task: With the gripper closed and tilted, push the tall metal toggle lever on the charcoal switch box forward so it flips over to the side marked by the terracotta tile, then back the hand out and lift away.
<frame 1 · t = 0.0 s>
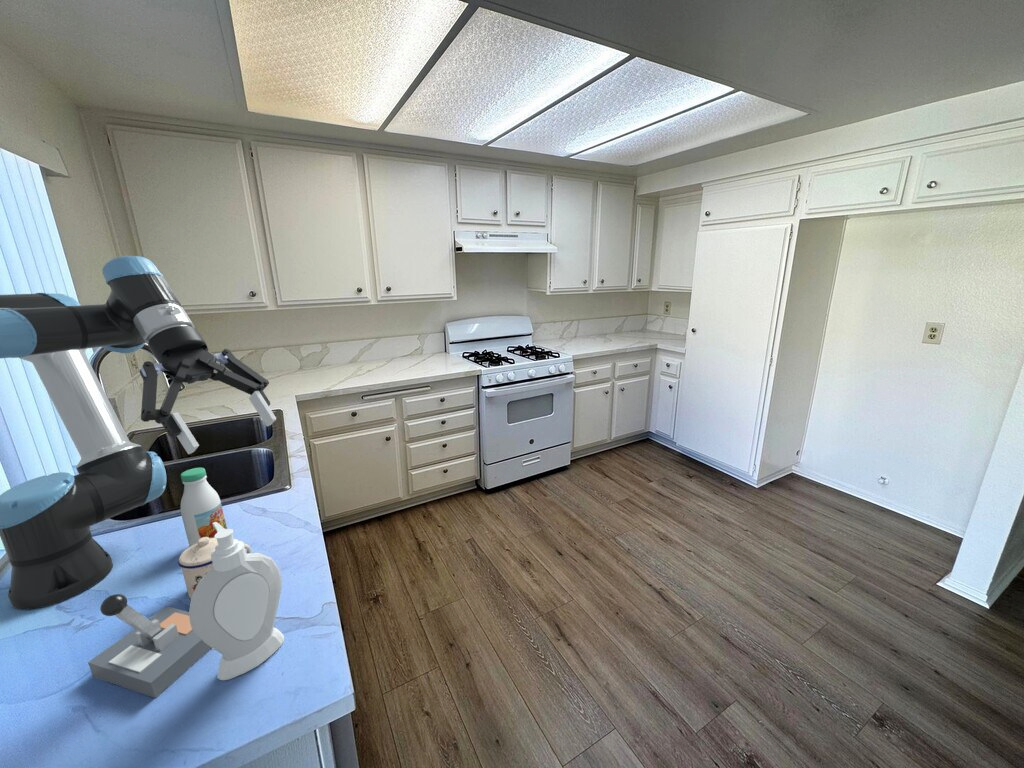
hand: (236, 435, 72), 36 cm above the countertop, tool tilted 35°, fingers open, 13 cm apart
switch base: (163, 654, 70), on the countertop
teacup with lid: (223, 584, 87), on the countertop
lever: (135, 620, 66), point 9 cm above the countertop, hinge at -22.0°
milk bottle: (211, 546, 100), on the countertop
soap bottle: (250, 654, 70), on the countertop
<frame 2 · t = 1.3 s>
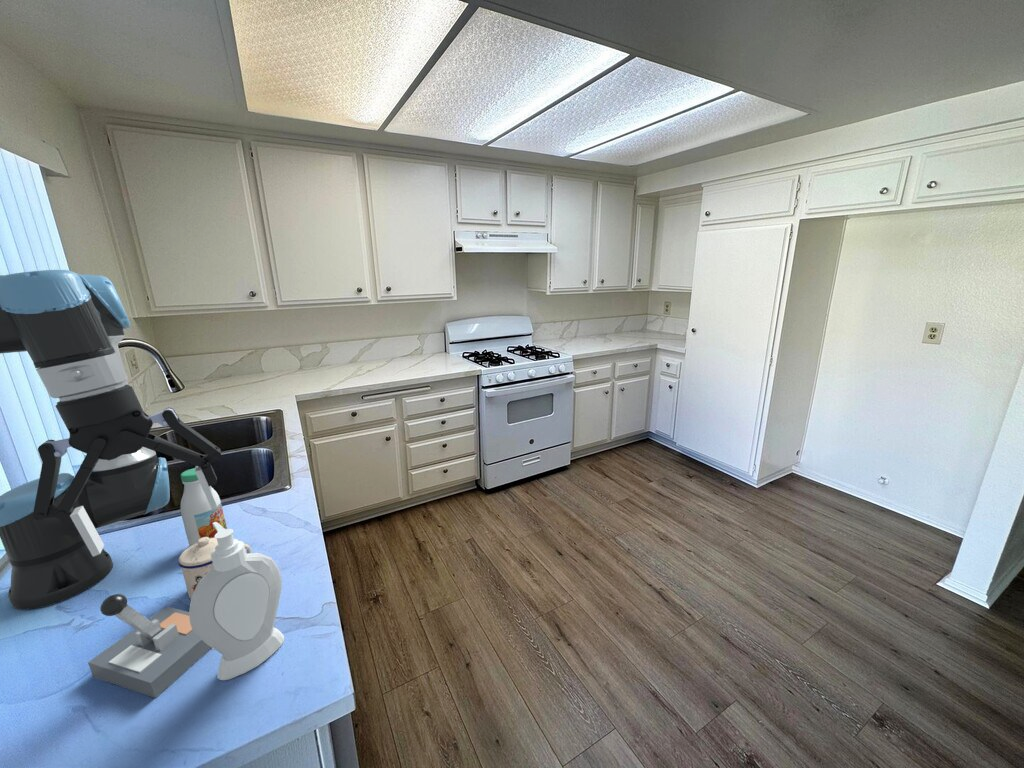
hand: (160, 526, 60), 27 cm above the countertop, tool pointing down, fingers open, 13 cm apart
nothing on the countertop moved.
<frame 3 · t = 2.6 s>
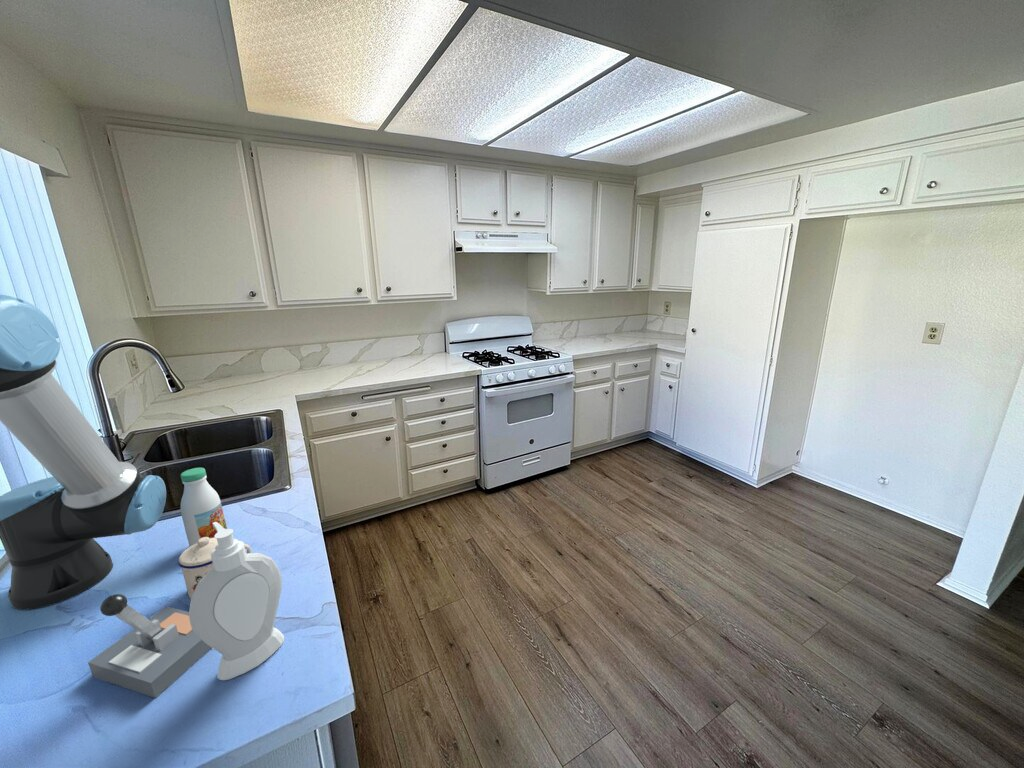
nothing on the countertop moved.
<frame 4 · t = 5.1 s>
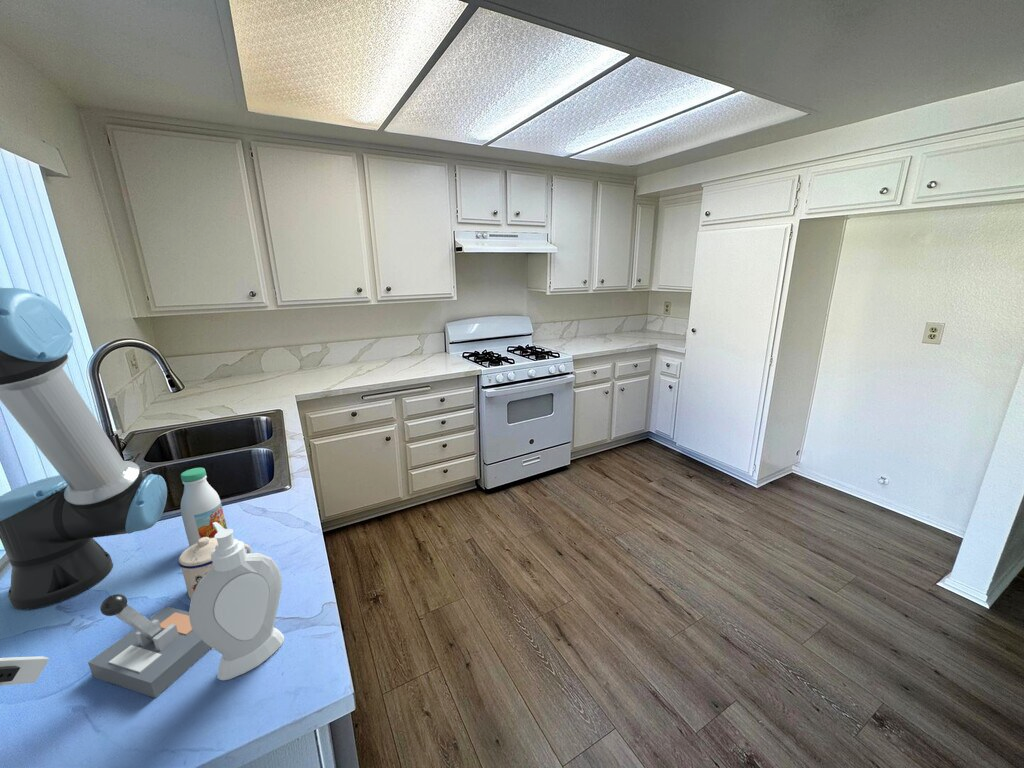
hand: (38, 669, 55), 12 cm above the countertop, tool tilted 45°, fingers closed
nothing on the countertop moved.
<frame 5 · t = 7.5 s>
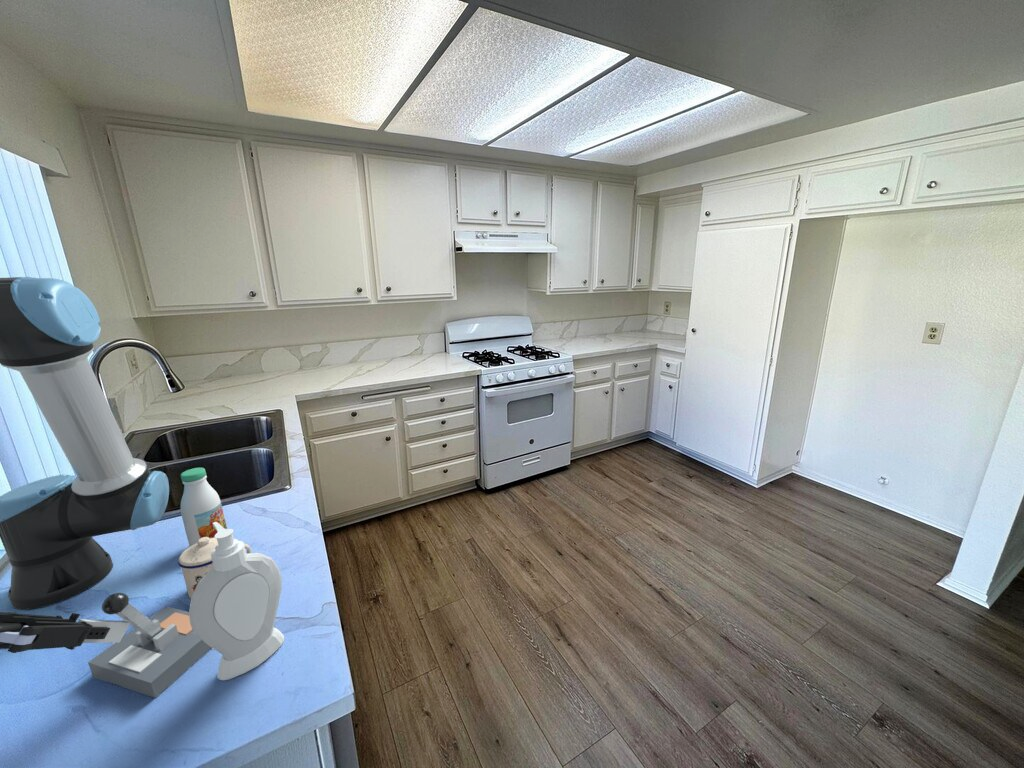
hand: (121, 631, 64), 9 cm above the countertop, tool tilted 45°, fingers closed
lever: (136, 619, 66), point 9 cm above the countertop, hinge at -20.7°, touching gripper
everything else where it was.
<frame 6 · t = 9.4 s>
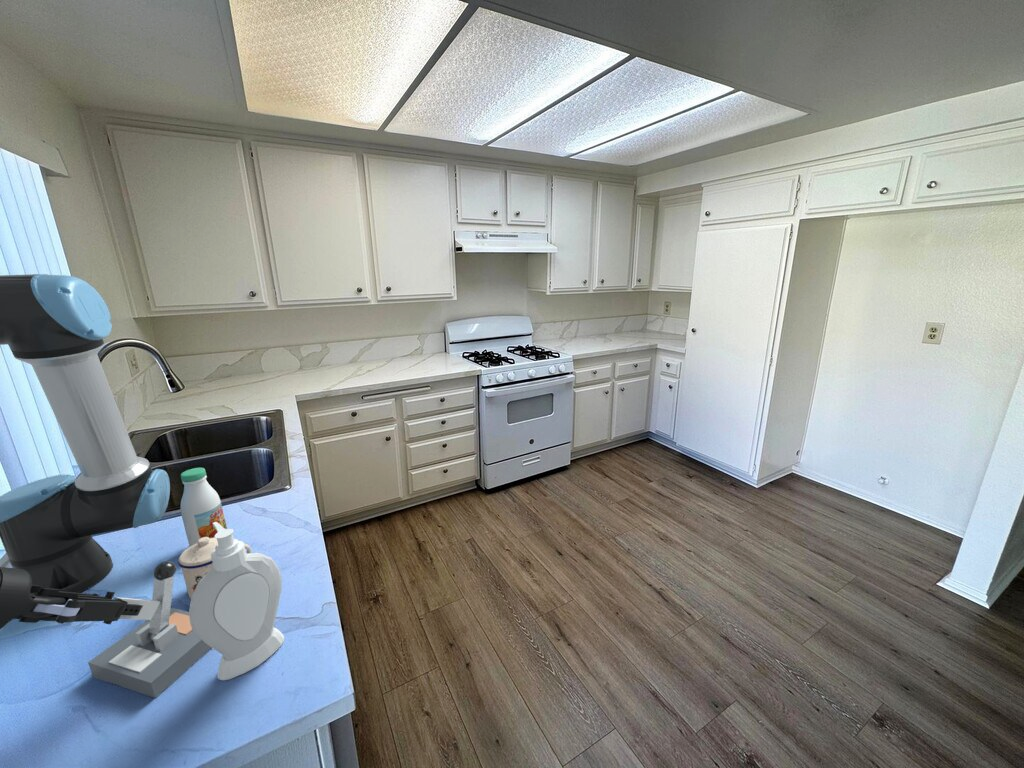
hand: (152, 609, 68), 9 cm above the countertop, tool tilted 45°, fingers closed
lever: (161, 601, 70), point 9 cm above the countertop, hinge at 18.7°, touching gripper
everything else where it was.
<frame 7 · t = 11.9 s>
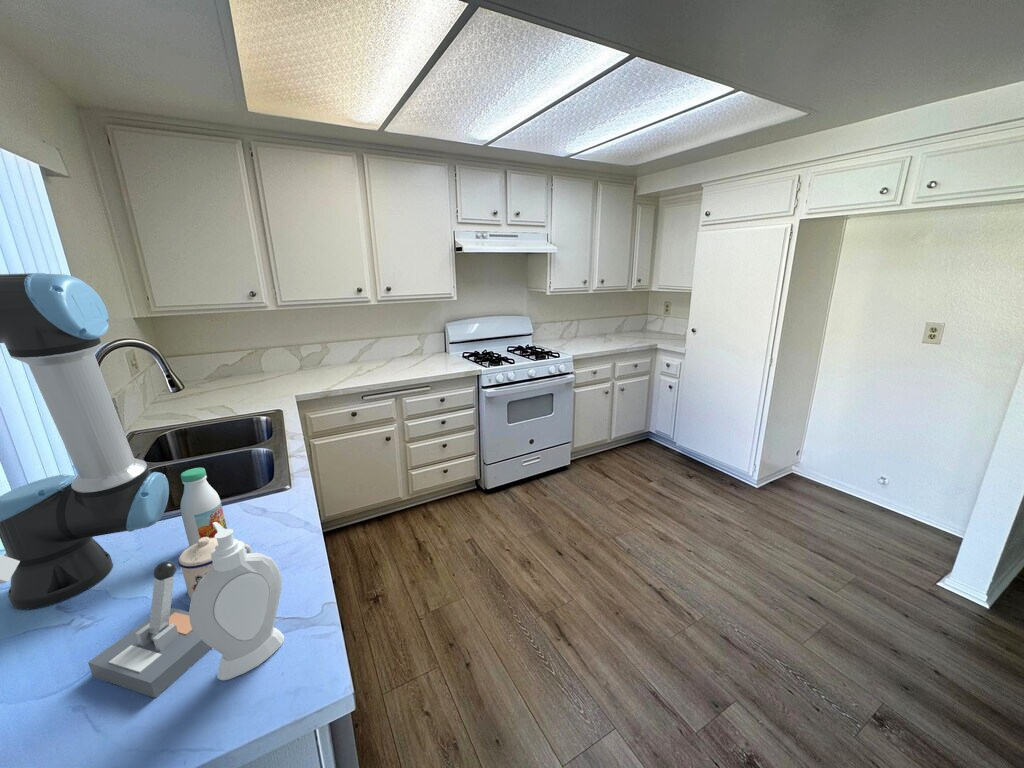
hand: (8, 572, 54), 25 cm above the countertop, tool tilted 35°, fingers closed
lever: (161, 601, 70), point 9 cm above the countertop, hinge at 18.7°
everything else where it was.
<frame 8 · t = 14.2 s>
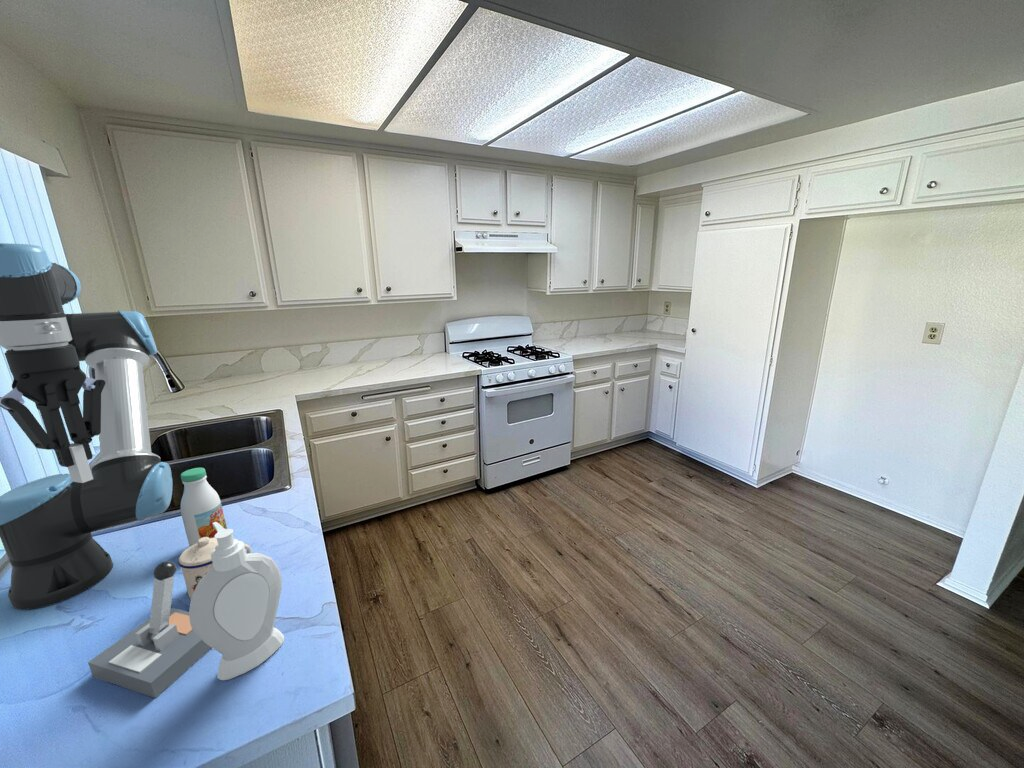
hand: (82, 480, 71), 29 cm above the countertop, tool pointing down, fingers closed
nothing on the countertop moved.
at the end: lever at +19° (first picture: -22°) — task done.
